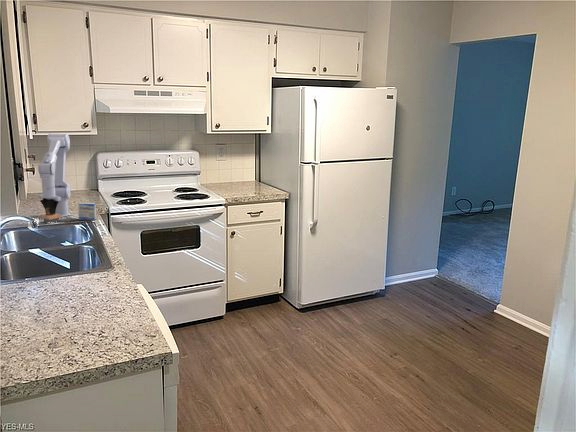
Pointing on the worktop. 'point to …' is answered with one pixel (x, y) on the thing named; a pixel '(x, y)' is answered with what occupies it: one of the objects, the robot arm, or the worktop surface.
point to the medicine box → (87, 211)
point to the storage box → (51, 220)
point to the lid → (50, 215)
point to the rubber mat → (69, 219)
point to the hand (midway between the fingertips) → (50, 213)
